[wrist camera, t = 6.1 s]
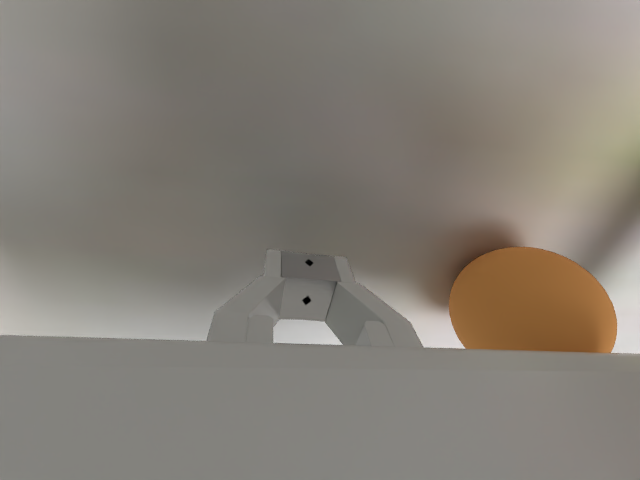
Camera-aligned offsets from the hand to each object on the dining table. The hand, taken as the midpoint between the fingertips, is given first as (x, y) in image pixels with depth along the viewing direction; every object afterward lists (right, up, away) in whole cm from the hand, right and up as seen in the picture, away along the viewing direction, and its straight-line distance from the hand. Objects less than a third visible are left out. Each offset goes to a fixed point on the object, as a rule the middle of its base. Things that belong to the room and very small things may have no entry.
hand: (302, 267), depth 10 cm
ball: (+9, -2, +1) cm, 9 cm away
